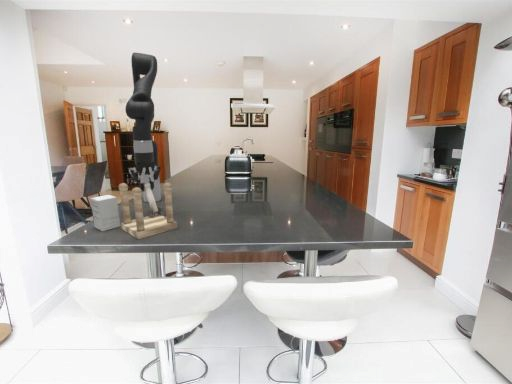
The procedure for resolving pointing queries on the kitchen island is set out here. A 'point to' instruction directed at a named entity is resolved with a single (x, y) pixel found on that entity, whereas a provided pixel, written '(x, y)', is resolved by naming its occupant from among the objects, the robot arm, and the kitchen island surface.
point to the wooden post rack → (152, 222)
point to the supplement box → (105, 212)
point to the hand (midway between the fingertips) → (146, 190)
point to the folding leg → (150, 196)
